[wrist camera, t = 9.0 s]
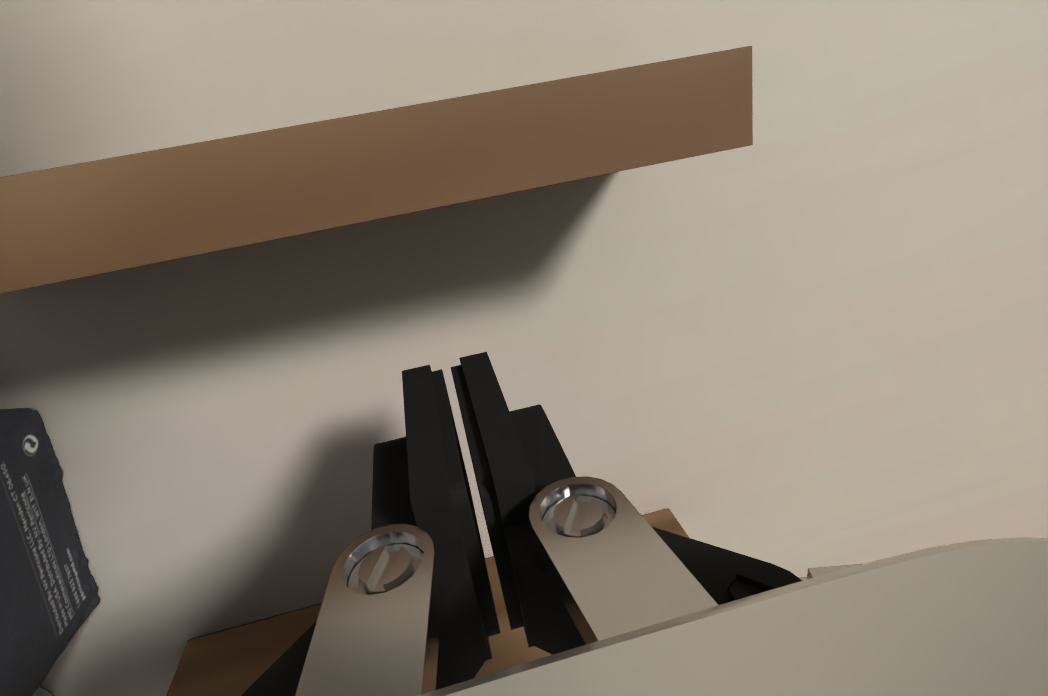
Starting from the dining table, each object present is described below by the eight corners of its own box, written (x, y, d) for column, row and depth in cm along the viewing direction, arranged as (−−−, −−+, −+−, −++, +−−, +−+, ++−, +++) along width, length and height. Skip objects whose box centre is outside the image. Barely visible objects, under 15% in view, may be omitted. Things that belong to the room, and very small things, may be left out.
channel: (-58, 191, 12) (-338, 236, 7) (634, 69, 14) (752, 46, 9) (207, 675, 18) (141, 870, 13) (671, 544, 19) (755, 674, 15)
